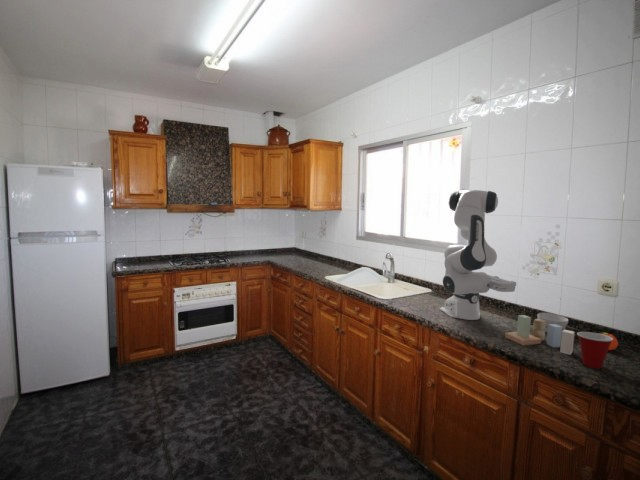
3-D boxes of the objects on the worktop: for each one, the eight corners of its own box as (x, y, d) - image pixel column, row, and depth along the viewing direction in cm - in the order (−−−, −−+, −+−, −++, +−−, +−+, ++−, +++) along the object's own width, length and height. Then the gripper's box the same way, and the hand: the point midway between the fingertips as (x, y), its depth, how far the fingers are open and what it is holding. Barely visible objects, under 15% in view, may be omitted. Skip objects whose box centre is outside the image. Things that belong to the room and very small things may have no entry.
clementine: (589, 345, 151) (591, 329, 151) (604, 345, 152) (606, 329, 151) (606, 352, 143) (607, 336, 143) (621, 352, 144) (623, 336, 143)
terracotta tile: (504, 336, 158) (505, 332, 158) (521, 335, 161) (522, 331, 161) (523, 345, 149) (523, 341, 148) (540, 343, 151) (541, 339, 151)
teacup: (555, 338, 158) (557, 322, 157) (529, 329, 169) (531, 313, 168) (576, 334, 164) (577, 318, 163) (549, 326, 175) (551, 311, 174)
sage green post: (516, 334, 156) (518, 315, 155) (522, 334, 157) (524, 315, 156) (522, 337, 152) (524, 317, 152) (529, 336, 153) (530, 317, 153)
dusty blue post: (546, 344, 151) (548, 324, 150) (553, 343, 152) (555, 324, 151) (552, 347, 148) (554, 327, 147) (560, 347, 148) (562, 326, 147)
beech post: (532, 338, 157) (533, 319, 156) (536, 337, 159) (537, 318, 158) (540, 341, 154) (542, 322, 153) (544, 340, 156) (546, 320, 155)
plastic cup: (590, 358, 137) (593, 329, 136) (617, 371, 127) (621, 339, 126) (566, 359, 136) (569, 330, 135) (592, 372, 125) (595, 340, 124)
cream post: (559, 352, 143) (562, 331, 142) (562, 350, 145) (564, 329, 144) (570, 355, 140) (572, 333, 139) (572, 352, 142) (574, 331, 141)
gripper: (499, 281, 135) (527, 279, 139) (463, 270, 154) (489, 269, 158) (498, 296, 135) (525, 294, 139) (462, 283, 155) (488, 282, 159)
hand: (505, 280), depth 149 cm, fingers open, 8 cm apart
